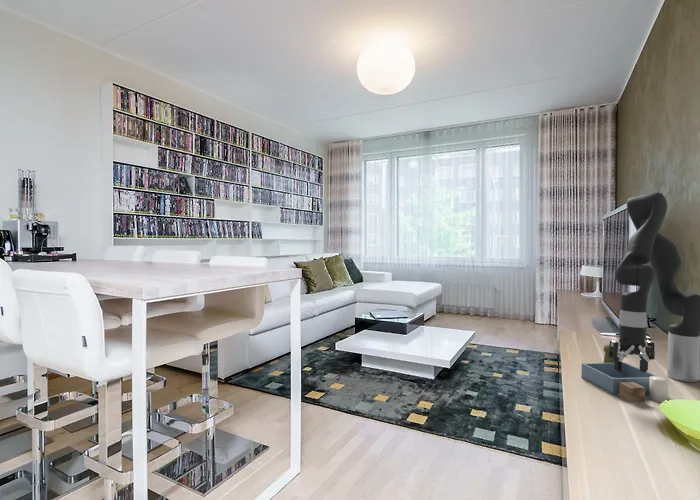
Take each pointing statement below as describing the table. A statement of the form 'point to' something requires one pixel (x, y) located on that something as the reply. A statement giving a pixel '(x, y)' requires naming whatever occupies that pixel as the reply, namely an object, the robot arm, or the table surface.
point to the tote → (614, 376)
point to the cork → (607, 355)
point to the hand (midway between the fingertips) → (630, 371)
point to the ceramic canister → (658, 388)
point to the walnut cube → (631, 392)
